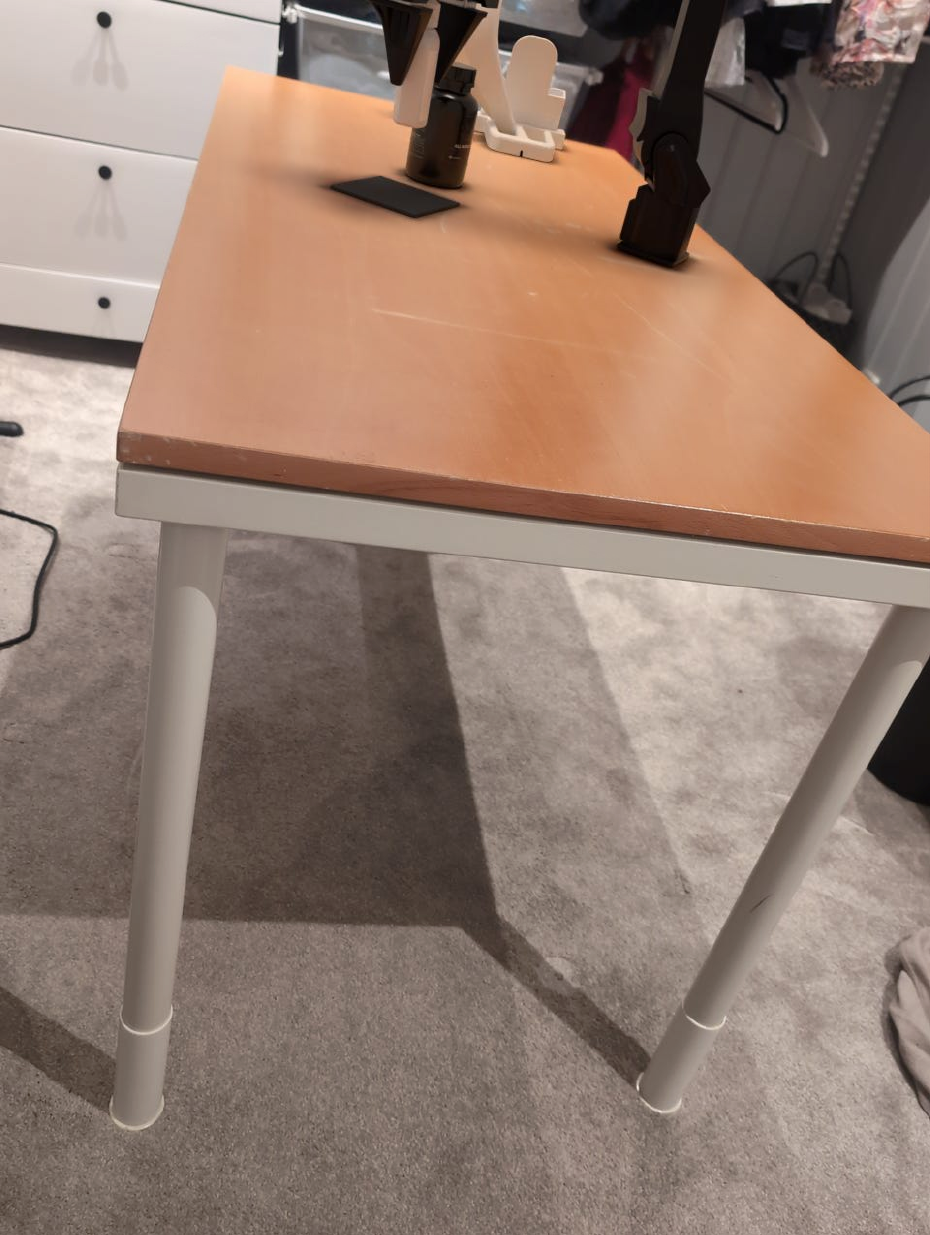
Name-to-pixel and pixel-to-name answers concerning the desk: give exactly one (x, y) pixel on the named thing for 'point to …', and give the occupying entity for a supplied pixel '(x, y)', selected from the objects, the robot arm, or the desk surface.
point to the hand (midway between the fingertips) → (416, 83)
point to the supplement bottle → (445, 131)
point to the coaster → (395, 196)
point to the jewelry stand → (515, 92)
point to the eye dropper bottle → (419, 77)
